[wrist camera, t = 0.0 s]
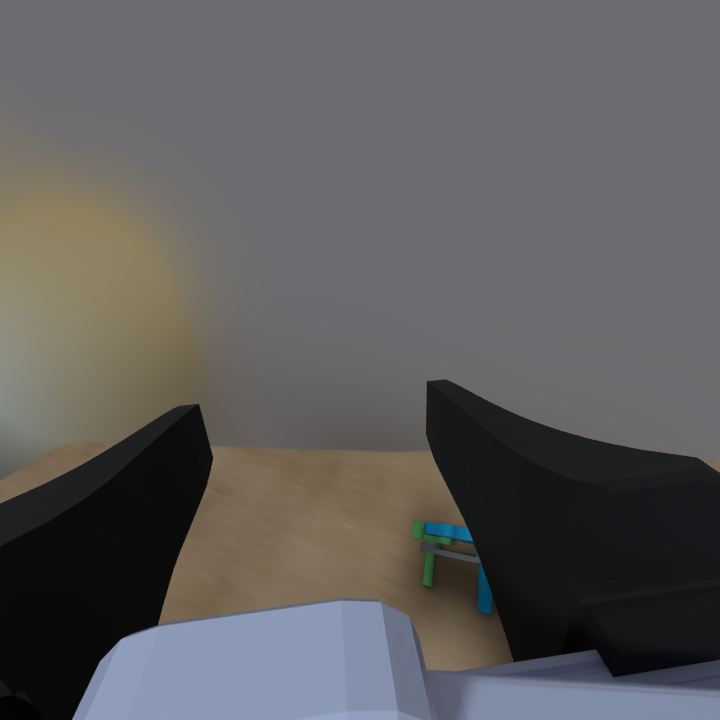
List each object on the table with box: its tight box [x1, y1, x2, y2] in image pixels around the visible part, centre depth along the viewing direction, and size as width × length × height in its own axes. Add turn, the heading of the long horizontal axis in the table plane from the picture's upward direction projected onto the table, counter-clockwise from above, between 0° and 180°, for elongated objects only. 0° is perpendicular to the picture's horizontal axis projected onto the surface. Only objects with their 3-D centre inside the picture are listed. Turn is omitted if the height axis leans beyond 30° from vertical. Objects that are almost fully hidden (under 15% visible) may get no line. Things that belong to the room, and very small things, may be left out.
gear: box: [412, 521, 492, 614], centre depth 29 cm, size 11×6×10 cm
